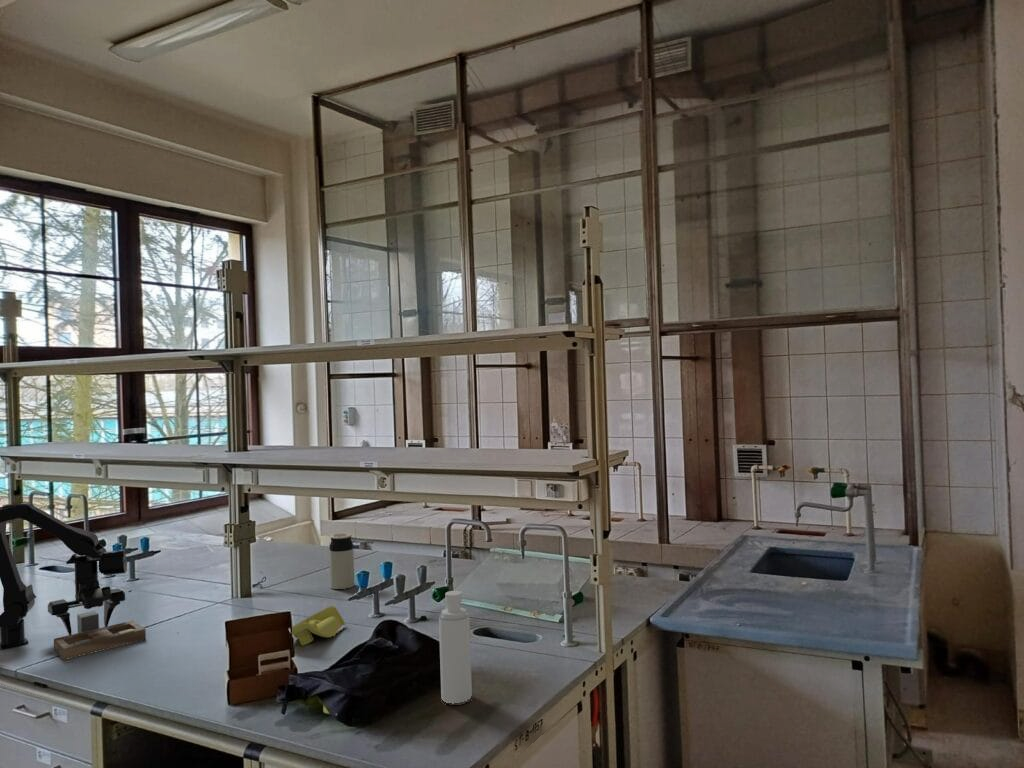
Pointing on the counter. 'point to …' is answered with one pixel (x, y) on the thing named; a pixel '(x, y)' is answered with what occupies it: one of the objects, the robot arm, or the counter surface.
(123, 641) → the socket bar
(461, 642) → the white bottle
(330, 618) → the plastic component
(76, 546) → the robot arm
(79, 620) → the plug
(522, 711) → the counter surface
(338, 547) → the travel mug
